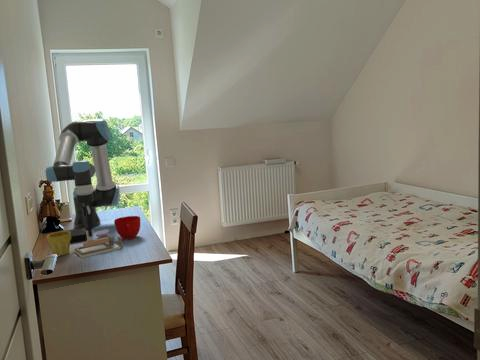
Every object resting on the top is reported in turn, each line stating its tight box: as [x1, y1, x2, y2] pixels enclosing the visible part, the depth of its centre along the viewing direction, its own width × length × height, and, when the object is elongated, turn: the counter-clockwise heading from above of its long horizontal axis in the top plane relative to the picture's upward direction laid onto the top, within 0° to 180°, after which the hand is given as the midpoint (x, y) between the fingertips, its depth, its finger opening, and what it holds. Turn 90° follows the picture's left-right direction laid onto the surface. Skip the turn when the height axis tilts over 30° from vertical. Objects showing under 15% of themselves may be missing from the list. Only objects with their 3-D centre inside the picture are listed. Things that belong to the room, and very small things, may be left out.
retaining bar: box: [82, 235, 115, 247], centre depth 211 cm, size 15×3×2 cm, turn 125°
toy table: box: [95, 228, 111, 239], centre depth 224 cm, size 10×9×6 cm
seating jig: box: [73, 235, 123, 258], centre depth 211 cm, size 13×19×6 cm
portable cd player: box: [52, 228, 87, 244], centre depth 236 cm, size 16×17×4 cm
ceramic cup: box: [114, 215, 141, 240], centre depth 228 cm, size 13×17×10 cm
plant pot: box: [46, 230, 71, 256], centre depth 209 cm, size 10×10×10 cm
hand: (90, 242), depth 211 cm, fingers closed
